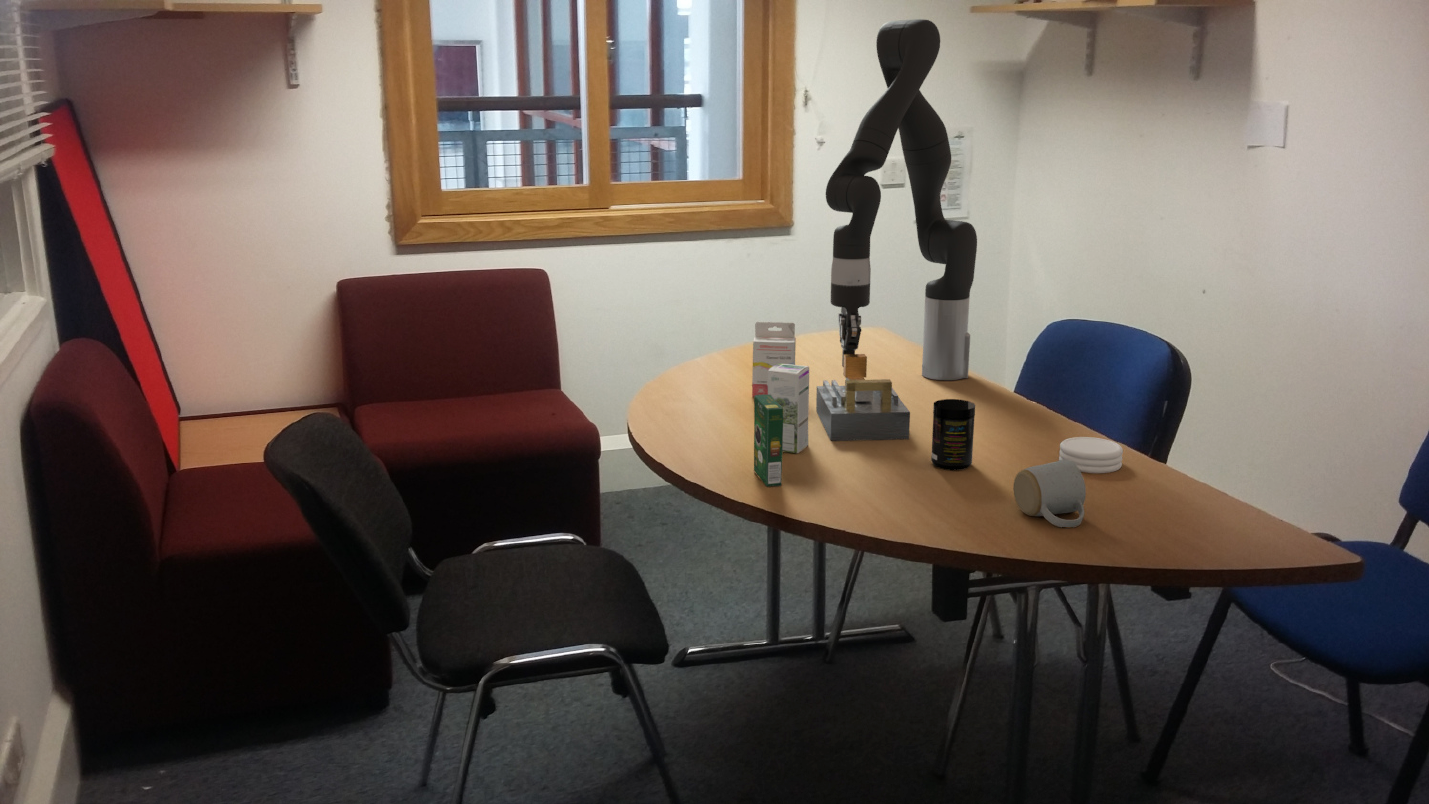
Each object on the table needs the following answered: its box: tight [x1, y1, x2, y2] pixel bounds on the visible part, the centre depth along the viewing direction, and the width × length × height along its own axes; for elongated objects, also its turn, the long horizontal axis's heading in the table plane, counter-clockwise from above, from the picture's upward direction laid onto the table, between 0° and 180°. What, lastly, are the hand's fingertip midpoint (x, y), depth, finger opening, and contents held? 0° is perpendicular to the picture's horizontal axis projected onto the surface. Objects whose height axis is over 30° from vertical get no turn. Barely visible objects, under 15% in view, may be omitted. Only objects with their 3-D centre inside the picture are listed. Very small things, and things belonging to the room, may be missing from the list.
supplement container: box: [930, 398, 976, 471], centre depth 191 cm, size 7×7×10 cm
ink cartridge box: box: [751, 321, 797, 398], centre depth 234 cm, size 9×5×15 cm, turn 84°
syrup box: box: [768, 363, 810, 454], centre depth 200 cm, size 6×6×14 cm
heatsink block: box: [815, 378, 911, 442], centre depth 214 cm, size 14×19×10 cm
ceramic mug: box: [1013, 460, 1087, 528], centre depth 169 cm, size 11×8×8 cm
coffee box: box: [753, 395, 784, 488], centre depth 185 cm, size 8×3×13 cm, turn 13°
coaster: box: [1058, 436, 1124, 474], centre depth 193 cm, size 10×10×4 cm
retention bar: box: [842, 353, 873, 402], centre depth 216 cm, size 4×12×6 cm, turn 3°
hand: (848, 368), depth 228 cm, fingers closed
